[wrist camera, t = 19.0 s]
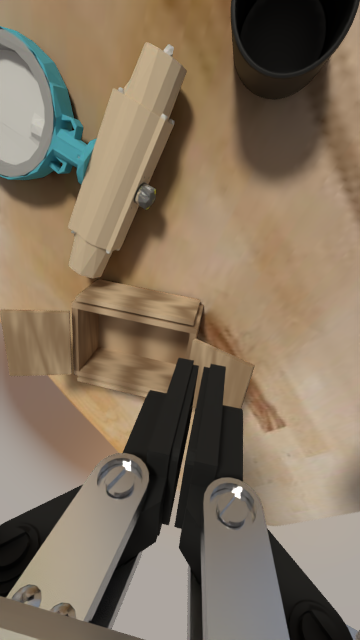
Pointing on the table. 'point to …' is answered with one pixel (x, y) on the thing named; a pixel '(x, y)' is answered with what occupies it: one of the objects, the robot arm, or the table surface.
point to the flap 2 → (234, 376)
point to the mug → (286, 41)
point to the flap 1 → (37, 342)
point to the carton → (131, 336)
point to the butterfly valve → (100, 154)
